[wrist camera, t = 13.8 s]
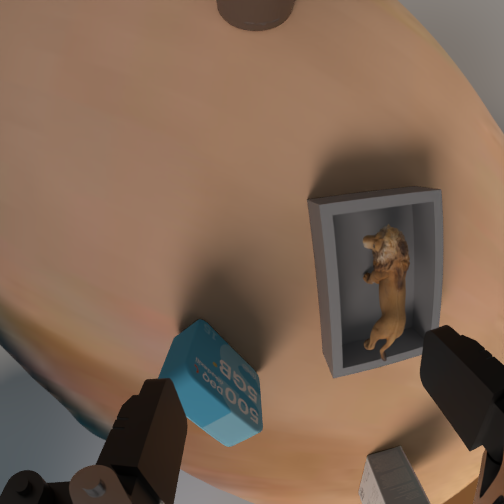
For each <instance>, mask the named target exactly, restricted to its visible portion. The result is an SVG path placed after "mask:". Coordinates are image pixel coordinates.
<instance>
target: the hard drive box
mask: <svg viewBox="0 0 504 504" xmlns="http://www.w3.org/2000/svg"><path fill="white" fill-rule="evenodd" d="M359 496H360V499H361V502H362V504H430V501H429V499H428V497H427V495H426V493H425V491H424V489H423V488H422V486H421V484H420V482H419V480H418V478H417V476H416V474H415V472H414V470H413V468H412V466H411V464H410V462H409V460H408V458H407V457H406V455H405V453H404V451H403V449H402V447H401V446H398V447H395V448H392V449H388V450H385V451H382V452H378V453H375V454H371V455H368V456H367V459H366V463H365V467H364V472H363V476H362V480H361V484H360V488H359Z"/></svg>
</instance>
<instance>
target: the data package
mask: <svg viewBox="0 0 504 504" xmlns="http://www.w3.org/2000/svg"><path fill="white" fill-rule="evenodd" d="M161 378H170V379H171V380H172V381H173V384H174V386H175V389H176V391H177V394H178V396H179V399H180V402H181V404H182V407H183V409H184V412H185V414H186V417H187V418H189V419H190V420H191V421H192V422H194V423H195V424H196V425H197V426H199V427H200V428H201V429H203V430H204V431H205V432H207V433H208V434H209V435H211V436H212V437H213V438H215V439H216V440H218V441H219V442H220V443H222V444H223V445H225V446H228V447H231V446H233V445H235V444H238V443H240V442H242V441H244V440H246V439H248V438H250V437H252V436H254V435H256V434H257V433H259V432H261V431H262V429H263V423H262V409H261V394H260V381H259V377H258V375H257V373H256V372H255V370H254V369H253V368H252V367H251V366H250V365H249V364H248V363H247V362H246V361H245V360H244V359H243V358H242V357H241V356H240V355H239V354H238V353H237V352H236V351H235V350H234V349H233V348H232V347H231V346H230V345H229V344H228V343H227V342H226V341H225V340H224V339H223V338H222V337H221V336H220V335H219V334H218V333H217V332H216V331H215V330H214V329H213V328H212V327H211V326H210V325H209V324H208V323H207V322H206V321H204V320H201V319H199V320H197V321H196V322H195V323H193V324H192V325H191V326H189V327H188V328H187V329H185V330H184V331H183V332H181V333H180V334H179V335H177V336H176V337H175V338H174V339H173V342H172V344H171V347H170V349H169V352H168V354H167V357H166V359H165V362H164V364H163V367H162V370H161V372H160V375H159V377H158V379H161Z"/></svg>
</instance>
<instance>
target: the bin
mask: <svg viewBox="0 0 504 504" xmlns="http://www.w3.org/2000/svg"><path fill="white" fill-rule="evenodd" d="M307 202H308V210H309V217H310V225H311V233H312V242H313V250H314V259H315V268H316V278H317V288H318V299H319V310H320V322H321V335H322V349H323V354H324V357H325V359H326V362H327V364H328V367H329V369H330V372H331V374H332V376H333V378H337V377H341V376H346V375H350V374H354V373H358V372H362V371H366V370H370V369H374V368H378V367H381V366H385V365H389V364H392V363H396V362H399V361H402V360H406V359H409V358H412V357H416V356H419V355H422V350H423V342H424V335H425V333H426V332H427V331H429V330H432V329H435V328H438V327H439V320H440V309H441V296H442V279H443V211H442V194H441V189H433V188H426V187H418V186H412V187H402V188H393V189H385V190H376V191H368V192H360V193H352V194H344V195H337V196H329V197H322V198H315V199H308V200H307ZM388 224H389V225H390V226H391V227H394V228H397V229H398V230H399V231H402V234H403V235H404V236H405V241H406V242H407V245H408V250H409V252H408V254H409V258H410V260H409V262H410V265H409V268H408V270H407V273H406V277H405V281H406V298H405V314H406V323H405V328H404V331H403V333H402V335H401V336H400V337H398V338H396V339H395V341H394V342H393V343H392V344H391V346H390V347H389V348H387V349H386V350H385V351H384V352H385V353H386V358H387V361H383V360H382V358H381V354H380V349H381V347H382V346H383V345H384V344H385V343H386V342H387V340H386V339H379V340H378V341H377V342H376V345H375V348H374V349H372V350H367V349H365V347H364V342H365V340H367V339H368V338H369V339H370V334H371V331H372V328H373V326H374V325H375V323H376V322H377V321H378V320H379V319H380V318H381V316H382V312H381V308H380V303H379V284H376V283H373V284H368V283H366V282H365V281H364V280H363V276H364V274H366V273H367V272H368V273H372V271H373V270H374V267H373V259H374V258H373V254H372V250H370V249H368V248H365V247H364V245H363V238H364V236H366V235H376V233H378V232H379V231H380V229H382V228H383V227H385V226H387V225H388Z"/></svg>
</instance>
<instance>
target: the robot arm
mask: <svg viewBox="0 0 504 504" xmlns="http://www.w3.org/2000/svg"><path fill="white" fill-rule="evenodd" d="M216 1H217V7H218V11H219V13H220V15H221V16H222V17H223V18H224V20H225V21H227V22H228V23H229V24H231V25H233V26H235V27H237V28H240V29H244V30H250V31H263V30H268V29H271V28H274V27H277V26H278V25H280V24H282V23H283V22H284V21H285V20H286V19H287V18H288V17H289V15H290V14H291V11H292V8H293V5H294V2H295V0H216ZM420 378H421V381H422V384H423V386H424V388H425V389H426V390H427V392H428V393H429V395H430V396H431V397H432V399H433V400H434V401H435V403H436V404H437V405H438V407H439V408H440V410H441V411H442V412H443V414H444V415H445V417H446V418H447V419H448V421H449V422H450V424H451V425H452V426H453V428H454V429H455V431H456V432H457V434H458V435H459V437H460V438H461V439H462V441H463V442H464V444H465V445H466V447H467V448H468V450H469V451H472V450H474V449H476V448H477V447H479V446H481V445H483V446H484V448H485V451H484V453H483V456H482V462H481V468H480V474H479V479H478V485H477V489H476V494H475V498H474V502H473V504H504V365H503V364H502V363H501V362H500V361H498V360H497V359H496V358H495V357H492V354H491V353H489V352H488V351H487V350H485V348H484V347H483V346H481V345H480V344H479V343H478V342H477V341H476V340H473V339H471V338H469V337H466V336H464V335H461V336H460V335H459V334H458V333H457V332H456V331H455V330H454V329H452V328H451V327H450V326H448V325H445V326H442V327H438V328H435V329H432V330H429V331H427V332H426V333H425V335H424V342H423V350H422V359H421V366H420ZM186 435H187V418H186V414H185V412H184V409H183V407H182V404H181V402H180V399H179V396H178V394H177V391H176V389H175V386H174V384H173V381H172V380H171V379H170V378H161V379H147V380H145V382H144V384H143V386H142V389H141V391H140V393H139V395H133V396H132V397H131V398H130V399H128V400H127V401H126V402H125V403H124V404H123V405H122V407H121V409H120V411H119V414H118V416H117V420H115V422H114V424H113V429H111V431H110V433H109V435H108V438H107V440H106V442H105V445H104V447H103V449H102V451H101V453H100V456H99V458H98V461H97V463H96V465H92V466H88V467H85V468H83V469H81V470H79V471H78V472H77V473H76V474H75V475H74V476H73V477H72V479H71V481H69V482H55V483H46V482H45V481H44V479H43V478H42V477H41V476H40V475H39V474H38V473H36V472H34V471H30V470H25V471H21V472H18V473H16V474H15V475H13V476H12V477H11V478H10V479H9V480H8V482H7V484H6V486H5V488H4V490H3V492H2V494H1V496H0V504H174V498H175V493H176V487H177V482H178V476H179V471H180V466H181V460H182V455H183V450H184V445H185V440H186Z"/></svg>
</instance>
